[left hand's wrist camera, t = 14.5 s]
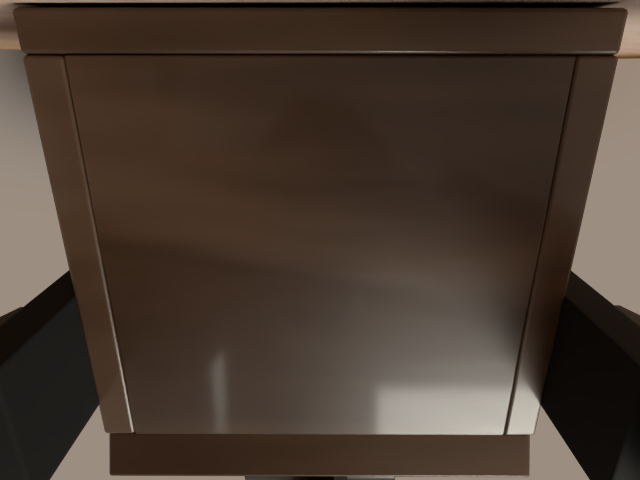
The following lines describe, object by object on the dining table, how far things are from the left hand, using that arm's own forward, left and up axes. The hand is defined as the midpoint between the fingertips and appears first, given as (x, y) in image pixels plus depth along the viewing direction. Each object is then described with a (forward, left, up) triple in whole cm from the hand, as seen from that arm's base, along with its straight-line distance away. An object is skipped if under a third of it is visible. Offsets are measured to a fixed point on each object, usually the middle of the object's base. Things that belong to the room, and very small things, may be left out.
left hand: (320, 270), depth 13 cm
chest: (+3, -2, -7) cm, 7 cm away
